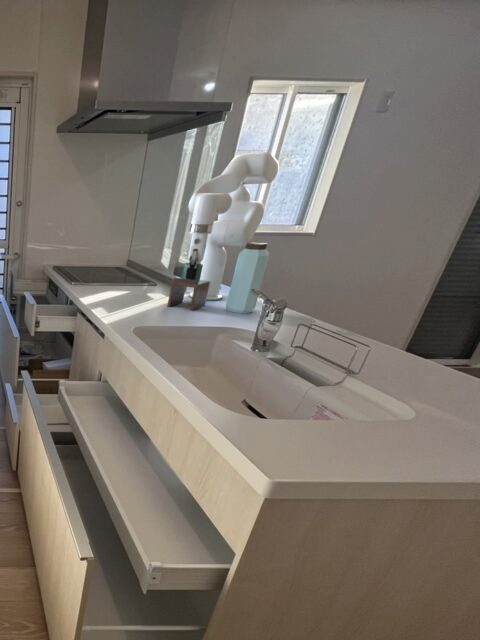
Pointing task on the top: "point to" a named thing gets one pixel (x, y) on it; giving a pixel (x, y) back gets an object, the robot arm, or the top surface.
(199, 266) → the pot
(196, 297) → the shelf
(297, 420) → the top surface
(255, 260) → the water bottle
